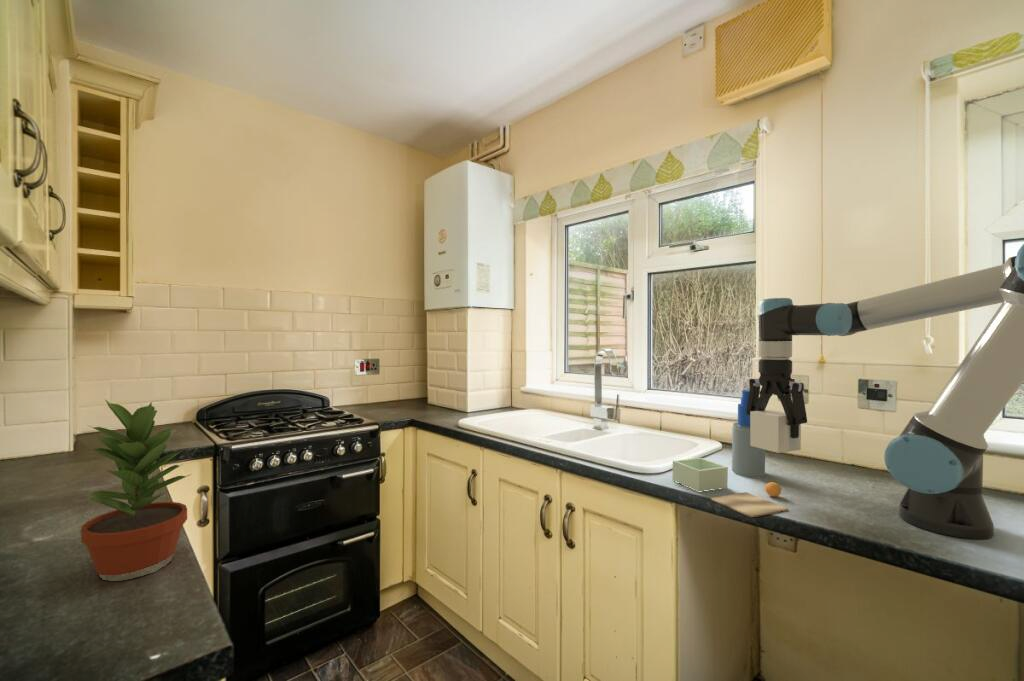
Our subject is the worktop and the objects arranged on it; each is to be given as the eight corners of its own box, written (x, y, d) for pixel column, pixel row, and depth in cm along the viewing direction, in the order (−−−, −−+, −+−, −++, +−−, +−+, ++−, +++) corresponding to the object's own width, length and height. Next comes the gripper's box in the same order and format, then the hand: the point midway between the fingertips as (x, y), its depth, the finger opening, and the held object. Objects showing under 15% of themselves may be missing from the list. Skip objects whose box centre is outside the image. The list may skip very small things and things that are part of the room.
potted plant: (189, 571, 79) (188, 400, 78) (70, 599, 70) (68, 407, 70) (194, 538, 91) (193, 390, 91) (93, 559, 83) (91, 395, 82)
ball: (784, 497, 116) (784, 483, 116) (774, 499, 115) (774, 485, 115) (771, 493, 119) (772, 479, 119) (761, 494, 118) (762, 481, 118)
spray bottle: (727, 467, 142) (728, 388, 141) (757, 468, 141) (758, 388, 140) (738, 476, 133) (739, 392, 132) (770, 478, 132) (771, 392, 132)
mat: (788, 510, 108) (788, 508, 108) (751, 517, 103) (751, 515, 103) (745, 493, 119) (745, 492, 119) (710, 499, 114) (710, 498, 114)
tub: (727, 489, 123) (727, 467, 123) (698, 493, 119) (699, 470, 119) (699, 477, 132) (700, 457, 132) (672, 481, 129) (672, 460, 129)
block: (800, 449, 114) (800, 414, 114) (778, 452, 111) (778, 416, 111) (772, 443, 122) (772, 409, 122) (750, 445, 119) (750, 411, 119)
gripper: (825, 360, 108) (825, 454, 108) (750, 356, 127) (750, 437, 128) (804, 360, 105) (804, 458, 105) (731, 357, 125) (730, 439, 125)
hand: (774, 446), depth 117 cm, fingers closed on block, 8 cm apart
